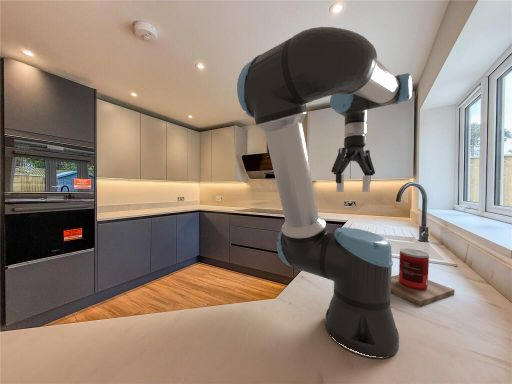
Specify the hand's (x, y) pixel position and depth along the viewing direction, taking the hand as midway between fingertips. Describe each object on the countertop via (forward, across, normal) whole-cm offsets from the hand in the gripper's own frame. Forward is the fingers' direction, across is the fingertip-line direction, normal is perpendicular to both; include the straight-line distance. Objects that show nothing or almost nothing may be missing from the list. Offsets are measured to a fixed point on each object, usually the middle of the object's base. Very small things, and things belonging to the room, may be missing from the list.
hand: (353, 192), depth 80 cm
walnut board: (+32, -9, +17) cm, 37 cm away
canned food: (+30, -9, +17) cm, 36 cm away
